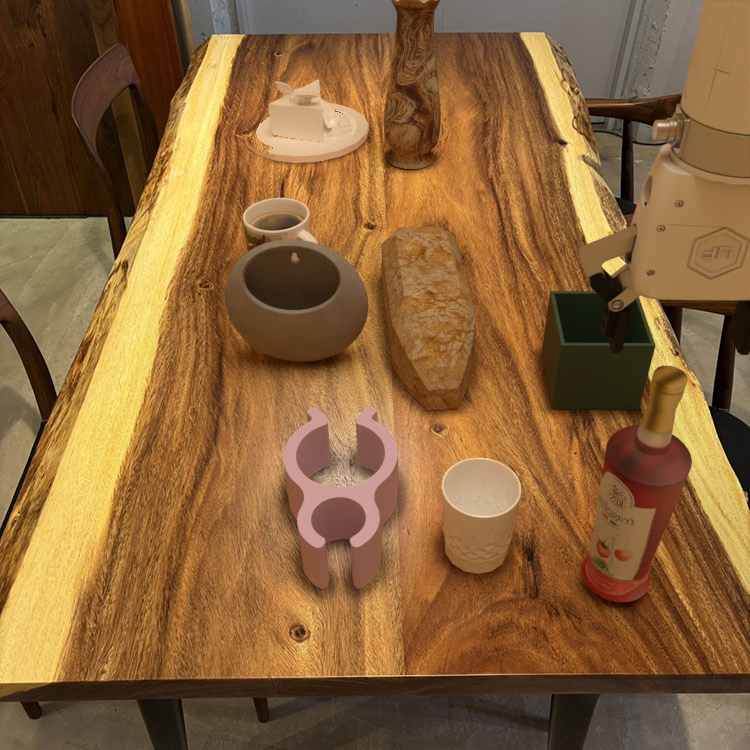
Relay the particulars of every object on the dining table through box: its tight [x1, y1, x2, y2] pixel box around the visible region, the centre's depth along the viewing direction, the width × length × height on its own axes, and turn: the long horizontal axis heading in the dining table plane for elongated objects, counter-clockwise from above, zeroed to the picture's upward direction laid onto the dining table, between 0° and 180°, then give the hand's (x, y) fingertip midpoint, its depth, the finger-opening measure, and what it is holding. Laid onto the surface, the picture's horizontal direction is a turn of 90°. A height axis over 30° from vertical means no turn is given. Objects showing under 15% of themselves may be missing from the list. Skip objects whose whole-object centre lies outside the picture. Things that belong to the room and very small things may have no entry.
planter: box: [224, 240, 369, 363], centre depth 108 cm, size 18×7×19 cm, turn 88°
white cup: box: [441, 457, 522, 575], centre depth 86 cm, size 8×8×10 cm
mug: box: [242, 197, 319, 260], centre depth 125 cm, size 10×12×11 cm
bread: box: [380, 225, 477, 411], centre depth 116 cm, size 36×11×10 cm, turn 4°
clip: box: [282, 405, 399, 590], centre depth 92 cm, size 20×12×7 cm, turn 0°
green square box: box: [540, 290, 656, 411], centre depth 106 cm, size 11×11×10 cm
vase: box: [383, 0, 442, 170], centre depth 148 cm, size 10×11×30 cm
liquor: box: [580, 365, 693, 603], centre depth 77 cm, size 7×7×28 cm
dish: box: [242, 79, 370, 164], centre depth 163 cm, size 25×25×11 cm
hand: (675, 343), depth 66 cm, fingers open, 9 cm apart
